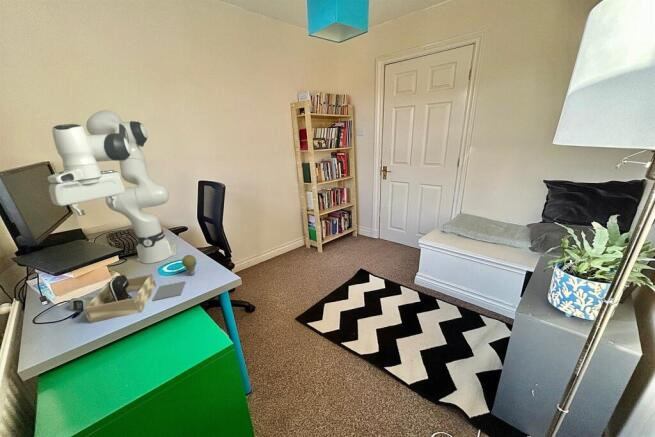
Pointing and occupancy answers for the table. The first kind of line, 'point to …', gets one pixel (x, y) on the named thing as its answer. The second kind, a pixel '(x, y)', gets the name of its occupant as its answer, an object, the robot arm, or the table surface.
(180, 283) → the pad
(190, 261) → the light bulb
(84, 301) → the wristwatch
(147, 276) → the box
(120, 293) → the battery charger
